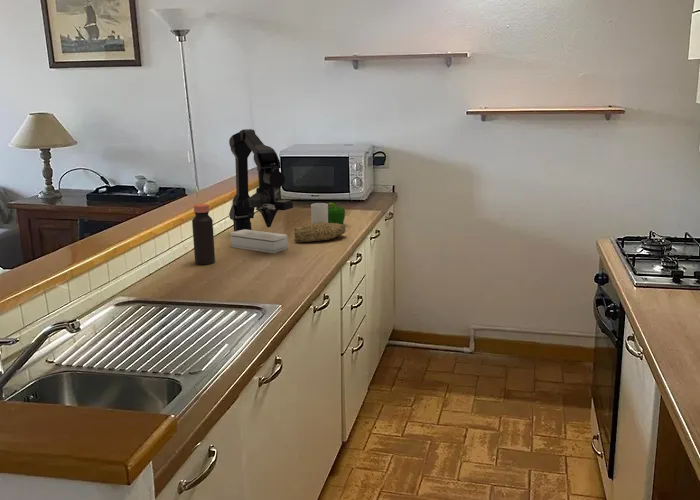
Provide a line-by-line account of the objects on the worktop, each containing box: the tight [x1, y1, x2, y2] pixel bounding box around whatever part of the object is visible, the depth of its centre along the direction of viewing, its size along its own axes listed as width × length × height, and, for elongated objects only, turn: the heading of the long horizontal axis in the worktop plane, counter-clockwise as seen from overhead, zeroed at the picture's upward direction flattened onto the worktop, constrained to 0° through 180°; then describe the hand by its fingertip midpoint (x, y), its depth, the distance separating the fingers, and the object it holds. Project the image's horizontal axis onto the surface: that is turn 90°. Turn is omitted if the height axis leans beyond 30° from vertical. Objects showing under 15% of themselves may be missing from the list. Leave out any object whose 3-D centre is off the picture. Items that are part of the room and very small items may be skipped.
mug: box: [310, 202, 329, 224], centre depth 277 cm, size 10×7×12 cm, turn 166°
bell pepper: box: [327, 202, 346, 225], centre depth 290 cm, size 8×8×10 cm
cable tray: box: [230, 235, 289, 254], centre depth 257 cm, size 20×8×4 cm, turn 60°
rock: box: [294, 222, 346, 243], centre depth 268 cm, size 13×8×20 cm
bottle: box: [191, 203, 216, 266], centre depth 236 cm, size 7×7×20 cm
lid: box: [230, 229, 288, 241], centre depth 257 cm, size 20×8×1 cm, turn 60°
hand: (268, 227), depth 253 cm, fingers closed
